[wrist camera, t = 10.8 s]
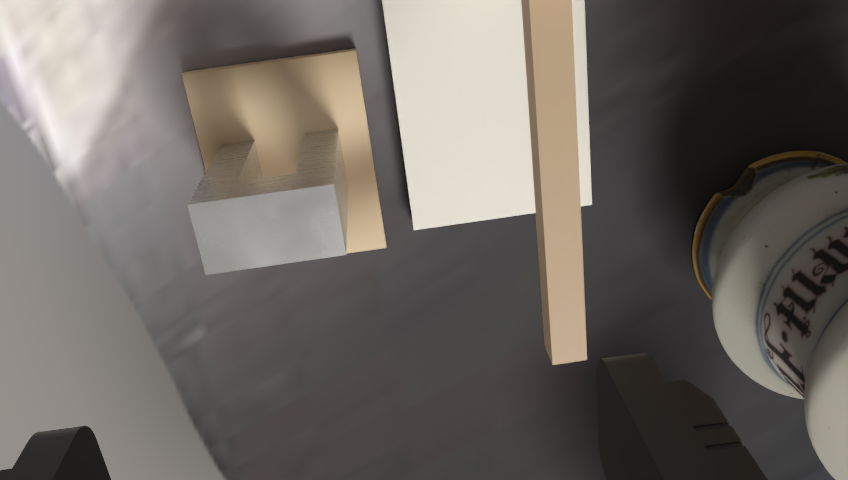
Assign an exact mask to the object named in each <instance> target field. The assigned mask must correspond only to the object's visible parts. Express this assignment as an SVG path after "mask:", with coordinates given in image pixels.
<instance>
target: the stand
mask: <svg viewBox="0 0 848 480" xmlns="http://www.w3.org/2000/svg"><path fill="white" fill-rule="evenodd" d="M382 5H383V12H384V19H385V27H386V34H387V41H388V48H389V56H390V63H391V70H392V77H393V85H394V92H395V99H396V106H397V114H398V121H399V128H400V135H401V143H402V150H403V157H404V164H405V172H406V179H407V186H408V193H409V200H410V208H411V215H412V222H413V228H414V230H419V229H426V228H433V227H440V226H447V225H454V224H461V223H468V222H475V221H482V220H489V219H496V218H503V217H510V216H517V215H524V214H531V213H536V224H537V238H538V253H539V268H540V282H541V297H542V312H543V326H544V341H545V348H546V351H547V353H548V355H549V358H550V360H551V363H552V365H557V364H563V363H570V362H577V361H584V360H587V344H586V321H585V298H584V274H583V251H582V228H581V206H587V205H592V192H591V165H590V138H589V110H588V83H587V55H586V28H585V0H382Z"/></svg>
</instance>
